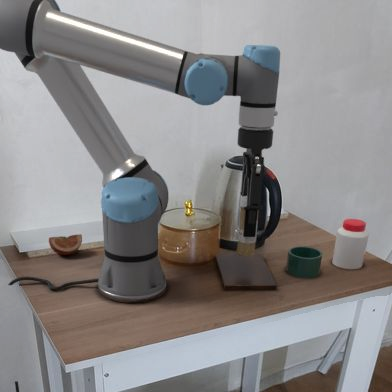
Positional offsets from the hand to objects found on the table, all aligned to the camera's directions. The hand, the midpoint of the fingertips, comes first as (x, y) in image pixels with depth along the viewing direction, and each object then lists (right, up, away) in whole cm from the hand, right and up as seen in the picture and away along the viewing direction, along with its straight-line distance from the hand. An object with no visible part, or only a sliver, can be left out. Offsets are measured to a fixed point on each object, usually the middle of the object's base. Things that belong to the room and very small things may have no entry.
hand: (247, 232), depth 131 cm
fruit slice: (-45, -3, +12) cm, 47 cm away
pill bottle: (+27, -6, +13) cm, 30 cm away
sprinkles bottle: (0, -5, +3) cm, 6 cm away
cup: (+14, -8, +7) cm, 18 cm away
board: (0, -9, +5) cm, 10 cm away
